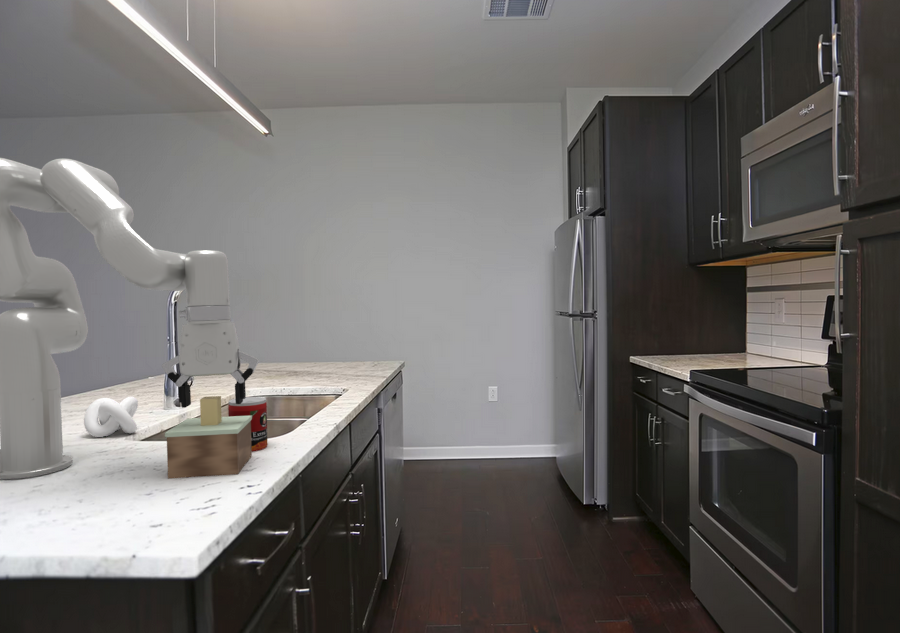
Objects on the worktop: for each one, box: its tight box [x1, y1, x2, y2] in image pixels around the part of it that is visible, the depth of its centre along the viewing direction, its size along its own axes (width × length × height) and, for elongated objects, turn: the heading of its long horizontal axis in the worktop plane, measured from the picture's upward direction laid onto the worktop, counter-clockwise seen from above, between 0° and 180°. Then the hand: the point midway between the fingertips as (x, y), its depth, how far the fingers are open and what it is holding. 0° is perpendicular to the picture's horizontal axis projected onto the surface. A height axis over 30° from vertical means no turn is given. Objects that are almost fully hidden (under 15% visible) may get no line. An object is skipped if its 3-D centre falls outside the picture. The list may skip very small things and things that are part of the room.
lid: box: [164, 395, 252, 438], centre depth 103 cm, size 12×12×6 cm
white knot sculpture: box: [83, 396, 139, 438], centre depth 135 cm, size 11×12×9 cm
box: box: [166, 421, 253, 480], centre depth 103 cm, size 12×12×8 cm
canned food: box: [227, 396, 268, 453], centre depth 116 cm, size 8×8×11 cm
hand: (213, 404), depth 103 cm, fingers open, 9 cm apart
